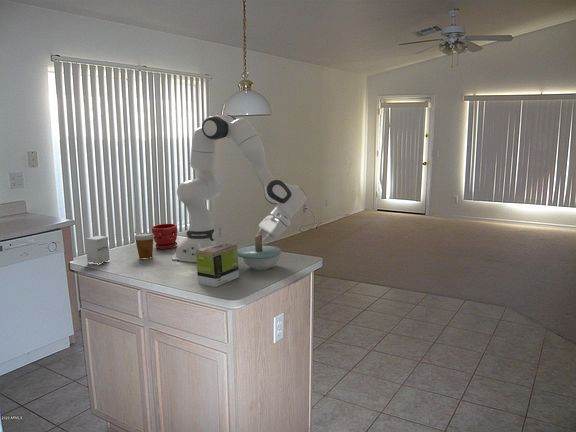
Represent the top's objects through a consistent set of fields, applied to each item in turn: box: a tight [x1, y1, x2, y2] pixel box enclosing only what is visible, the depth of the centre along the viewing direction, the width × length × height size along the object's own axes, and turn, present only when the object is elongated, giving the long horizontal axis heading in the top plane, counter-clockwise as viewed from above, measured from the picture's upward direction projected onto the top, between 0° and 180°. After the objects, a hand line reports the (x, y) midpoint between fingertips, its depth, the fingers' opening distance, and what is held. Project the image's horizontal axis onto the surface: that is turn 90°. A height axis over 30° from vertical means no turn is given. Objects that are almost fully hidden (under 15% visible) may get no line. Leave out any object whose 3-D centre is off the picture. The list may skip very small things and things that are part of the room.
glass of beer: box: [133, 232, 154, 259], centre depth 244 cm, size 10×10×12 cm
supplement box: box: [85, 235, 110, 264], centre depth 236 cm, size 7×7×13 cm
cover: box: [237, 234, 282, 259], centre depth 220 cm, size 20×20×8 cm
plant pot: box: [151, 223, 178, 250], centre depth 265 cm, size 13×13×12 cm
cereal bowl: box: [242, 254, 281, 271], centre depth 222 cm, size 17×17×7 cm
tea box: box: [196, 241, 240, 288], centre depth 203 cm, size 15×10×15 cm, turn 145°
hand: (259, 240), depth 220 cm, fingers open, 8 cm apart
